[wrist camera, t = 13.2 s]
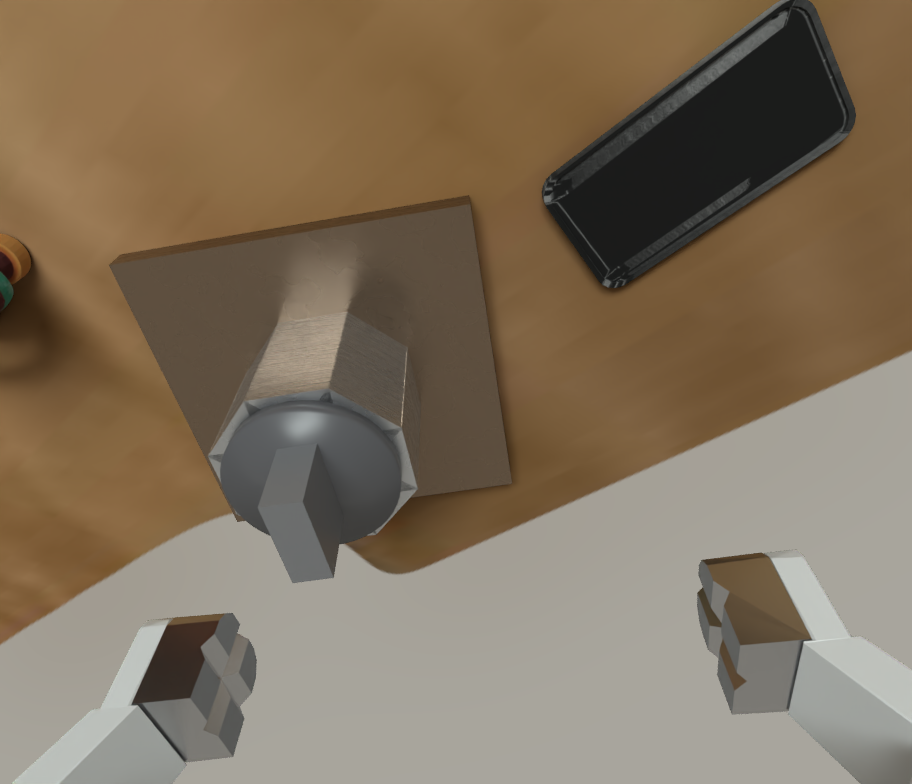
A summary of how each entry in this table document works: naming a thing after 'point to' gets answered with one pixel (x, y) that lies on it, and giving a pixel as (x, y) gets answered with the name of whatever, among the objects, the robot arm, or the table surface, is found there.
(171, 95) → the table surface
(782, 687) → the robot arm
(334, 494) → the grey dial knob
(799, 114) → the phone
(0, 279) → the binoculars
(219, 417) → the square base plate
